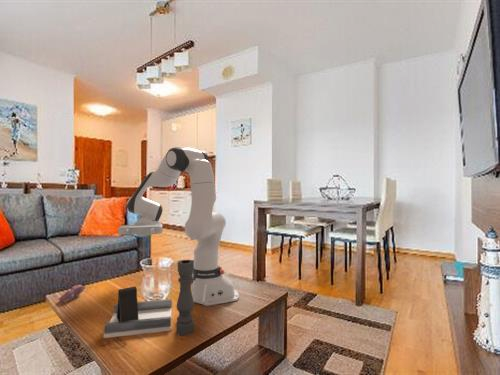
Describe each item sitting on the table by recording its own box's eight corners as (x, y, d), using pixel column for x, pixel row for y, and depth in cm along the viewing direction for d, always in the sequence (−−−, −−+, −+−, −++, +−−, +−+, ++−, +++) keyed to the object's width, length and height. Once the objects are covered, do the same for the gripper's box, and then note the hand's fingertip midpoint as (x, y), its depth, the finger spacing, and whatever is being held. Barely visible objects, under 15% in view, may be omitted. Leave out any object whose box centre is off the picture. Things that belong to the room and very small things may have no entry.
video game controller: (65, 306, 123) (71, 293, 122) (57, 301, 124) (63, 287, 123) (82, 297, 133) (88, 284, 132) (74, 292, 133) (80, 279, 133)
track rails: (171, 306, 119) (171, 299, 119) (170, 326, 103) (170, 318, 103) (114, 311, 114) (114, 304, 114) (104, 333, 98) (104, 324, 97)
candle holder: (177, 337, 98) (178, 265, 97) (174, 328, 103) (175, 260, 103) (195, 333, 100) (196, 263, 100) (191, 325, 106) (192, 258, 105)
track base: (171, 307, 120) (171, 305, 120) (170, 330, 102) (170, 327, 102) (115, 312, 115) (115, 310, 115) (103, 338, 97) (103, 335, 97)
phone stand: (138, 322, 105) (138, 290, 105) (121, 327, 102) (121, 294, 102) (132, 313, 113) (133, 283, 112) (116, 317, 109) (116, 286, 109)
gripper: (120, 221, 143) (115, 226, 129) (163, 220, 148) (161, 224, 135) (120, 234, 143) (115, 239, 130) (163, 232, 148) (161, 238, 135)
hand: (139, 232), depth 132 cm, fingers open, 8 cm apart
